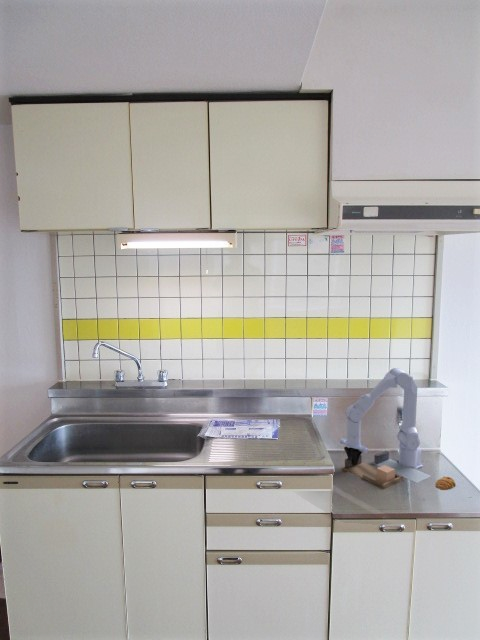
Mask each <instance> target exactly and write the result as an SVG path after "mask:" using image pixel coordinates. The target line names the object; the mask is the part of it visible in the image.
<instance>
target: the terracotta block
mask: <svg viewBox="0 0 480 640" xmlns="http://www.w3.org/2000/svg"><path fill="white" fill-rule="evenodd" d="M376 468H377V480H378V481H380V482H382V483H386V482H388V481H390V480H393V479H395V474H396V473H395V469H393V468H391V467H388V466H386V465H383V466H381V467H380V466H377V467H376Z"/></svg>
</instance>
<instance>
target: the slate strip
mask: <svg viewBox="0 0 480 640" xmlns="http://www.w3.org/2000/svg"><path fill="white" fill-rule="evenodd" d="M372 464H373V465H375V466H377V467H381V466H383V465H386V466H388V467H391V468H393V469H395V474H397V475H399V476H403V478H404V479H405V478H406V479H407V480H409V481H411V482H414V483H416V484H418V483H420V482H422V481H425V480H426V479H429V478H430V477H432V475H430V474H428V473H426V472H423V471H420V470H418V469H417V468H414V467H407V466H403V465H401V464H400V463H399V461H396V460H395V459H391V458H390V451H388V450H384V451H381V452H379V453H376V454H374V462H372Z"/></svg>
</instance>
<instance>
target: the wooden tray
mask: <svg viewBox="0 0 480 640" xmlns="http://www.w3.org/2000/svg"><path fill="white" fill-rule="evenodd" d="M362 455H363V454H361V455H360V457H359V460H358V463H357V465H353V458H352V457H350V458H348V457H347V458H344V467H342V468H341V472H343V473H347V472H349V473H351V474H353V475H355V476H358V477H360V478H362V479H364V480H365V481H367V482H369V483H372V484H374V485H376V486H378V487H380V488H382V489H384V490H385V489H387V488H390V487H392V486H394V485H396V484H398V483H400V482H402V481H403V482H404V477H403V476H400V475H398V474H396V473H395V479H393V480H390V481H388V482H386V483H382V482H380V481H378V480H377V468H378V467H375V466H374V465H373V466H372V465H371V464H369V463H366V462H364V461H363V460H362V457H363V456H362Z"/></svg>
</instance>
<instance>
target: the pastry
mask: <svg viewBox="0 0 480 640" xmlns="http://www.w3.org/2000/svg"><path fill="white" fill-rule="evenodd" d="M456 485H457V484H456V481H455V479H453V478H452V477H450V476H443V477H441V478H439V479H438V480H436V482H435V488H436V489H439V490H440V491H446V490H451V489H453V488H454V487H456Z"/></svg>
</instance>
